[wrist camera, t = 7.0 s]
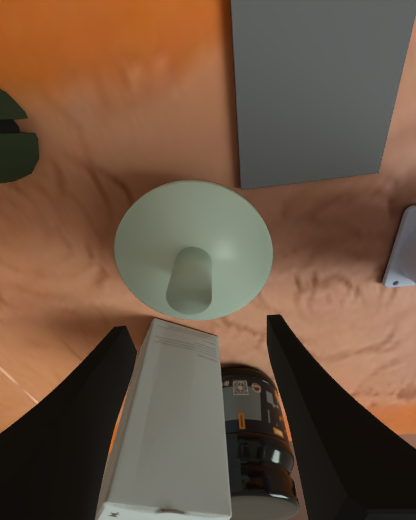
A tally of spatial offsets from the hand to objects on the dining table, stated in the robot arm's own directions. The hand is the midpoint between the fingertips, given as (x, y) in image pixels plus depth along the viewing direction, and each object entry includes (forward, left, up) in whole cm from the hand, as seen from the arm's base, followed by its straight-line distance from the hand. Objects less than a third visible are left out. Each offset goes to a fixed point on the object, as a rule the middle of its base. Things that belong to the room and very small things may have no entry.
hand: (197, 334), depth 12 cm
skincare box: (+5, +12, -11) cm, 17 cm away
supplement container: (-1, +22, -11) cm, 25 cm away
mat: (-8, -11, -10) cm, 17 cm away
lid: (+1, -1, -6) cm, 6 cm away
